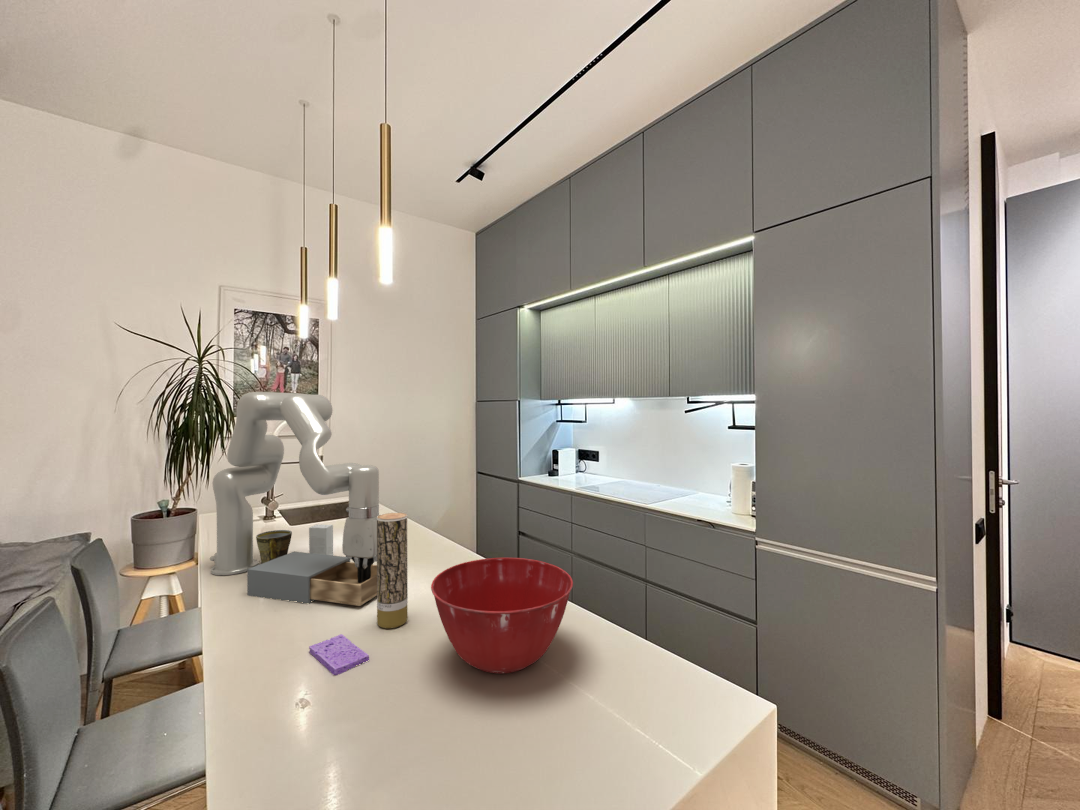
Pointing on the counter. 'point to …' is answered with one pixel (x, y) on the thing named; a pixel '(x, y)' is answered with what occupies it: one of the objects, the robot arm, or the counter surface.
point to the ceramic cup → (273, 544)
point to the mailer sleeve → (289, 575)
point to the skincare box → (321, 539)
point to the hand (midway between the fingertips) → (364, 581)
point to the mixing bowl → (501, 610)
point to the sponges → (338, 654)
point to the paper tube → (392, 570)
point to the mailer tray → (343, 585)
